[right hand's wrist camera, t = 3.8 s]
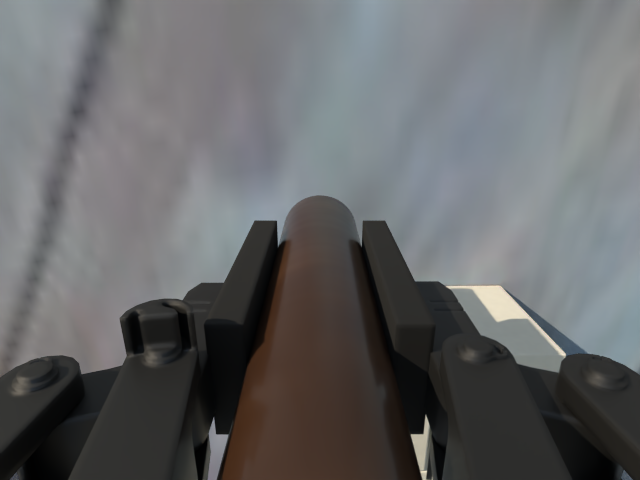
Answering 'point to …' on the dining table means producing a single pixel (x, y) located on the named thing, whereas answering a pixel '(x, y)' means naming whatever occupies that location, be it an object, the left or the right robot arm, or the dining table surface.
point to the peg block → (499, 340)
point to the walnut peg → (319, 366)
